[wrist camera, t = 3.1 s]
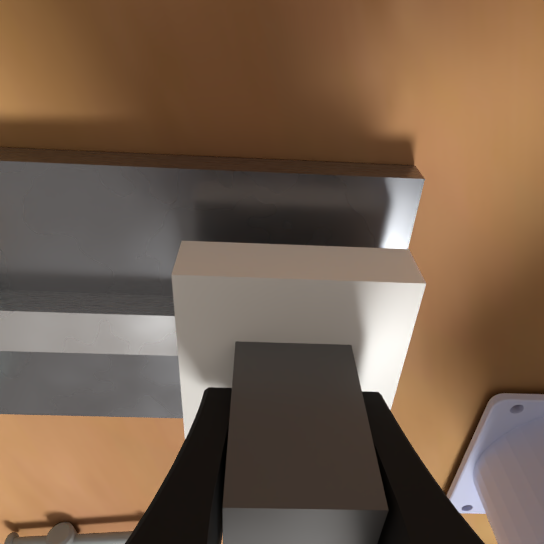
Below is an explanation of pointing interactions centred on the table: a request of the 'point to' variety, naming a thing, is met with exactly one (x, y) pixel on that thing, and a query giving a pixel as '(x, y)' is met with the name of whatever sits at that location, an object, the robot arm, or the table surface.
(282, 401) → the carriage
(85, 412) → the rail
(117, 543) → the clamp
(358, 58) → the table surface
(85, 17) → the table surface
